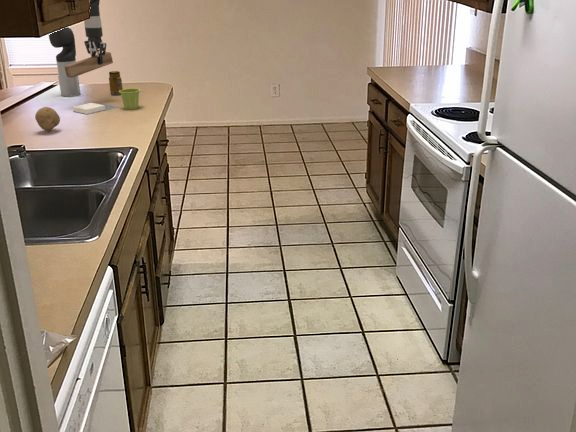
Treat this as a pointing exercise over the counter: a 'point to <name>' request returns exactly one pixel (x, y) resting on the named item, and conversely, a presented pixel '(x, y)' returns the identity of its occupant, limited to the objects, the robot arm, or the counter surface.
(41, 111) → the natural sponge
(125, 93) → the plant pot
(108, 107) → the mat
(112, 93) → the condiment
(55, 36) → the robot arm
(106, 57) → the push bar
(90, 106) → the tile
